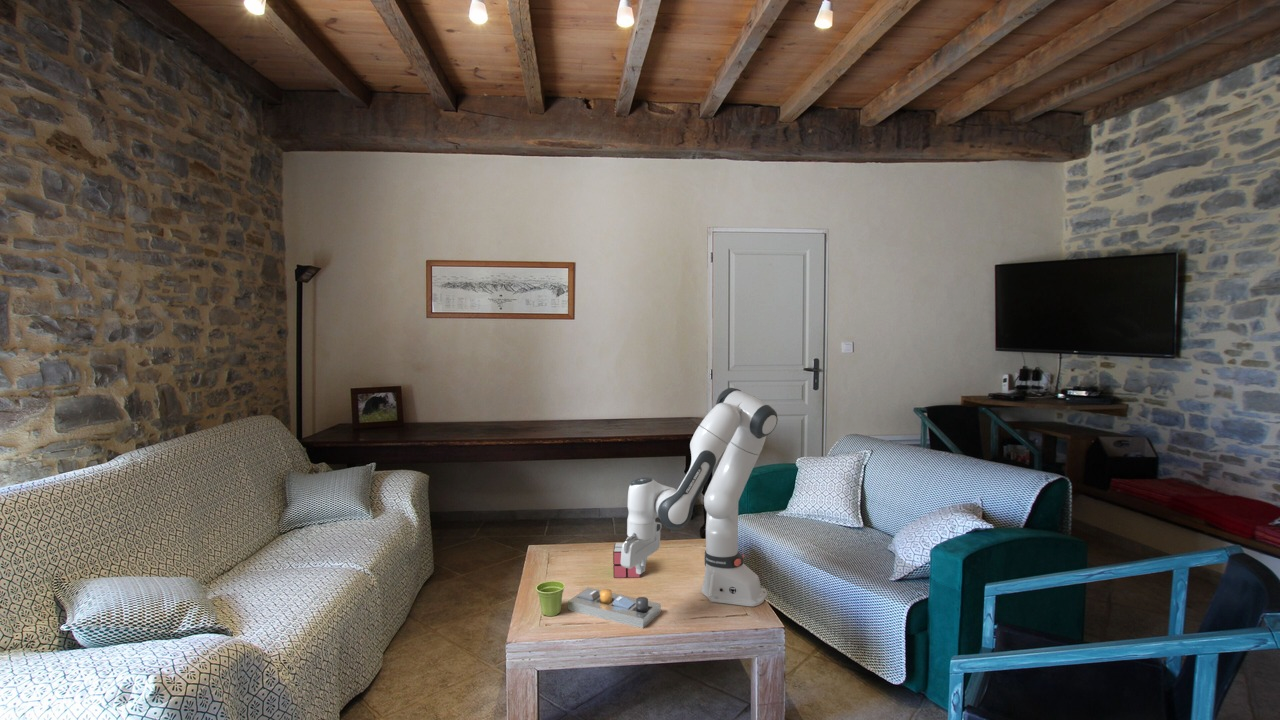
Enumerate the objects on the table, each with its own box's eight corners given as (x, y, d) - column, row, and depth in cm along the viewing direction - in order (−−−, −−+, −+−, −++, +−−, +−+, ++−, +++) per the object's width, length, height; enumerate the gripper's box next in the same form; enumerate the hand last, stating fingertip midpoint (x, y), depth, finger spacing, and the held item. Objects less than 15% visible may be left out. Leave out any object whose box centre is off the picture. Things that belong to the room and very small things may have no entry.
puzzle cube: (640, 578, 229) (640, 551, 229) (613, 578, 230) (613, 551, 229) (641, 567, 239) (640, 542, 239) (615, 568, 240) (614, 542, 239)
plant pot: (538, 621, 196) (537, 594, 196) (534, 608, 205) (534, 582, 205) (567, 616, 199) (567, 590, 199) (562, 604, 208) (562, 579, 208)
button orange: (614, 601, 204) (613, 590, 204) (608, 605, 201) (607, 594, 201) (604, 598, 206) (604, 588, 206) (598, 603, 203) (597, 592, 203)
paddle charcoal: (599, 595, 207) (598, 589, 207) (592, 600, 204) (591, 594, 204) (586, 596, 210) (584, 591, 210) (579, 601, 206) (578, 595, 207)
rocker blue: (633, 607, 201) (634, 602, 201) (627, 612, 198) (628, 607, 197) (619, 600, 204) (620, 594, 203) (612, 605, 200) (614, 599, 200)
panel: (660, 612, 201) (660, 603, 201) (643, 628, 190) (642, 618, 190) (588, 596, 214) (588, 587, 214) (568, 609, 204) (567, 601, 204)
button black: (650, 609, 198) (650, 598, 198) (644, 614, 195) (644, 603, 195) (639, 607, 200) (639, 596, 200) (634, 611, 197) (633, 600, 196)
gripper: (634, 541, 185) (633, 586, 186) (663, 522, 203) (663, 563, 204) (615, 537, 188) (615, 582, 189) (646, 519, 206) (646, 560, 207)
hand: (640, 572), depth 197 cm, fingers closed
